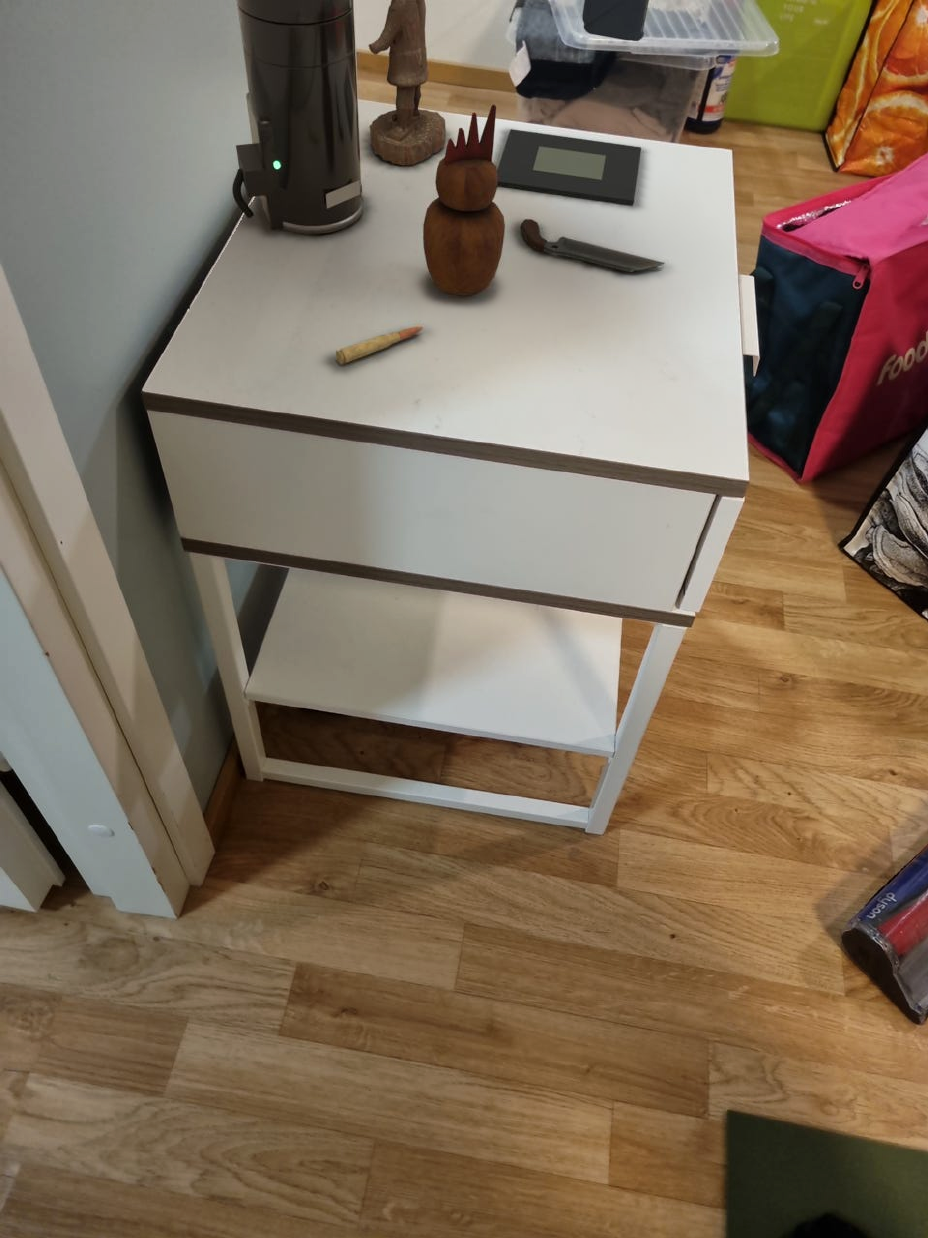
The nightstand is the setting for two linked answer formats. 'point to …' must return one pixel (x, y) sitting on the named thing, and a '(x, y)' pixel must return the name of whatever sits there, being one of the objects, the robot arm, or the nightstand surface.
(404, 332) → the bullet
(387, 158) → the figurine
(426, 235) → the wooden figurine
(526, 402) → the nightstand surface
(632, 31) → the vaping device
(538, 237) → the knife
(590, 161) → the mat
